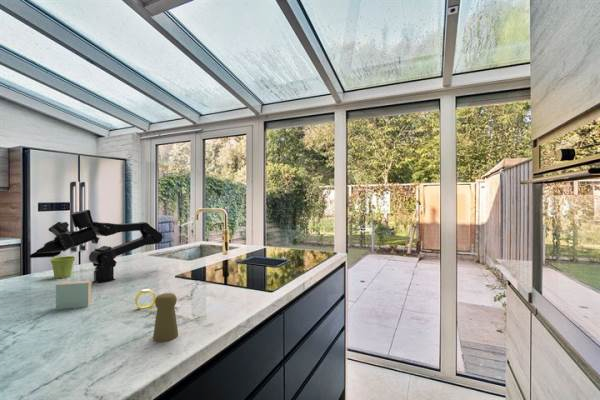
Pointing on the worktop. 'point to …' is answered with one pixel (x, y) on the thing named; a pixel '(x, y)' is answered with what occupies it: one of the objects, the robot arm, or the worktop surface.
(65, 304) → the tile
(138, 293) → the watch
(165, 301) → the cork
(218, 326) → the worktop surface
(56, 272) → the plant pot
